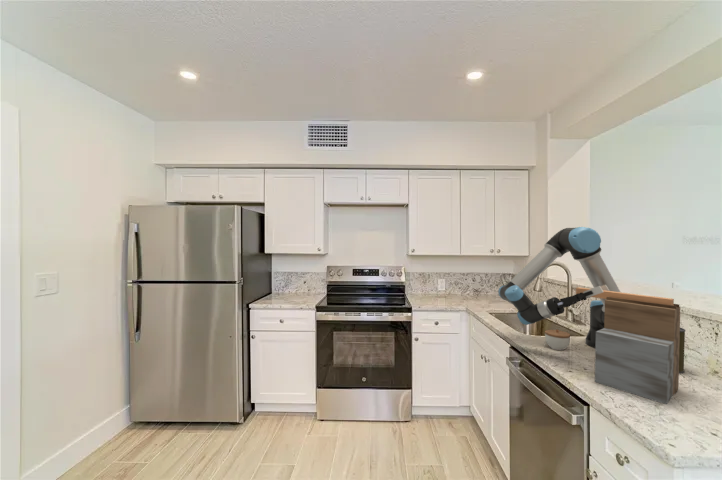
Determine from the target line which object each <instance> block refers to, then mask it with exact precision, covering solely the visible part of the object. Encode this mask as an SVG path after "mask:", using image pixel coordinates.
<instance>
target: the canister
mask: <svg viewBox="0 0 722 480" xmlns="http://www.w3.org/2000/svg"><path fill="white" fill-rule="evenodd" d="M685 332H686V329H685V328H683V327H680V344H679V374H685V346H686V345H685V342H686V341H685V340H686V339H685V337H686V335H685V334H686V333H685Z"/></svg>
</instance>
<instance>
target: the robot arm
mask: <svg viewBox="0 0 722 480" xmlns="http://www.w3.org/2000/svg"><path fill="white" fill-rule="evenodd" d="M601 243H602V238H601V235H600V234H599V233H598V232H597V230H595V229H593V228H590V227H587V226H579V227H566V228H562V229H560V230H559V231H558V232H557V233H555V234H554V235H553V236H552V237H550V238H549V240H548V241H546V243H545V244H544V248H542V250H540V251H539V252H538V253H537V254H536V255H535V256H534V257H533V258H532V259H531V260H530V261H529V262H528V263H527V264H526V265H525V266H524V267H523V268H522V269H520V271H519V272H518V273H517V274H516V275H515V276H514V277H512V278H511V280H510V281H509V282H508V283H507V284H506V285H502V286H500V287H499V288H498V290H497V291H498V296H499V297H500V298H501V299H502V301H506V302H508V303H509V304H511V305H513V307H515V309H516V310H517V313H516V315H517V318H518V320H519V322H520V323H521V324H523V325H525V326H527V325H533V324H535V323H537V322H540V321H542V320H546V319H548V320H551V319H552V317H554V316H559V315H561V314H564V312H565V308H570V307H571V306H572V305H576V304H577V303H578V302H581V301H587V299H590V298H592V297H591V296H594V295H597V294H600V293H603V290H605V291H614V292H621V290H620V289H619V287H618V284H617V283H616V281H615V280H614V277H613V276H612V274H611V272H610V271H609V269H608V267H607V265H606V263H605V261H604V260H603V258H602V256H601V252H602V247H601ZM569 252H570V254H571V257H572V259H574V261H577V262H579V264H580V265H581V267H582V269H583V270H584V272H585V274H586V276H587V278H588V280H589V281H590V283H591V286H592V288H589V289H590V290H587V291H584V292H582V293H580V294H579V293H578V294H576V293H575V294H574V295H571V296H566V297H562V298H558V297H556V296H553V297H551V298H548V299H546V300H543V301H540V302H537V303H535V304H534V303H533V301H532V300H531V299H530V298H529V297H528V295H527V294H526V293H525V292H524V290H526V288H527V287H529V285H531V284H532V283H533V281H534V280H536V278H538V277H539V276H540V275H541V274H542V273H543V272H544V271H545V270H546V269H547V268H548V267H549V266H550V265H552V263H554V261H556V260H557V258H562V256H564V255H565V254H567V253H569ZM599 299H600V300H599ZM599 299H598V300H597V299H596V300H593V299H592V300H591V301H590V306H589V330H588V332H587V335H586V337H585V339H584V340H585V341H584V342H585V345H586V346H590V347H592V348H595V347H596V331H598V330H601V329H603V328H604V319H605V300H606V299H602V298H599Z"/></svg>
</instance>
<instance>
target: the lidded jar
mask: <svg viewBox="0 0 722 480" xmlns="http://www.w3.org/2000/svg"><path fill="white" fill-rule="evenodd" d="M544 338H545V339H544V340H545V342H546V344H547V345H548V347H549V348H550V349H551V350H554V351H565V349H566V348H568V347H569V344H570V341H571V334H570V333H569V332H566V331H564V330H559V328H557V329H545V331H544Z"/></svg>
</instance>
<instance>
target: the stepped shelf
mask: <svg viewBox="0 0 722 480" xmlns="http://www.w3.org/2000/svg"><path fill="white" fill-rule="evenodd" d="M680 328H681V306H680V304H678V303H674V306H673V305H666V304H658V303H650V302H643V301H635V300H627V299H620V298H612V297H607V298H606V300H605V319H604V328H603V329H601V330H598V331H596V347H594V348H595V350H594V351H595V353H594V355H595V357H594V358H595V359H594V383H596V384H597V383H598V384H601V385H603V386H606V387H607V386H608V387H610V388H613V389H616V390H619V391H623V392H626V393H630V394H633V395H635V396H639V397H641V398H646V399H649V400H652V401H654V402H658V403H661V404H665V405H667V404H668V403H669V402H670V401H671V399H672V398H673V397H674V395H675V394H676V393H677V392H678V391H679V385H680V383H679V378H680V377H679V376H680V375H679V374H680V373H679V344H680Z"/></svg>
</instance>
